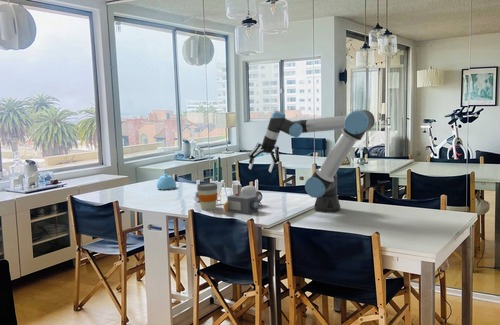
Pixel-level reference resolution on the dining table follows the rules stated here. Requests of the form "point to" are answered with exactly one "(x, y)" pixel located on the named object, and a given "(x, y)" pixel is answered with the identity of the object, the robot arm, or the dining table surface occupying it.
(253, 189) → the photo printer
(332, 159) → the robot arm
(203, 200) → the reusable coffee cup
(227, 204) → the side door
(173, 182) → the sugar bowl
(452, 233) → the dining table surface
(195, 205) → the dining table surface
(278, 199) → the dining table surface
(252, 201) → the camera body
